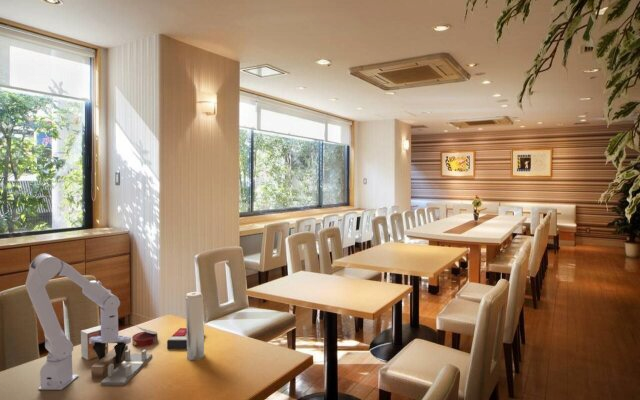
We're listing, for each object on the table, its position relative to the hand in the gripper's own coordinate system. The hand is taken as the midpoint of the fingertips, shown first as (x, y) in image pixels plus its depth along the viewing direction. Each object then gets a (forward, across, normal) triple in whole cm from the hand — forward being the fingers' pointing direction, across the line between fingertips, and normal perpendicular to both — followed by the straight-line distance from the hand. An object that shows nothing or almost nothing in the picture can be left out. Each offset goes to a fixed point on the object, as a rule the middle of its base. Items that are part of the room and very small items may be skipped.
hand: (110, 362), depth 152 cm
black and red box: (+2, -20, -23) cm, 31 cm away
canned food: (+2, -3, -22) cm, 22 cm away
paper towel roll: (+2, -29, -8) cm, 30 cm away
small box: (+2, +11, -9) cm, 14 cm away
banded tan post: (+1, 0, 0) cm, 1 cm away
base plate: (+1, -8, +3) cm, 9 cm away
